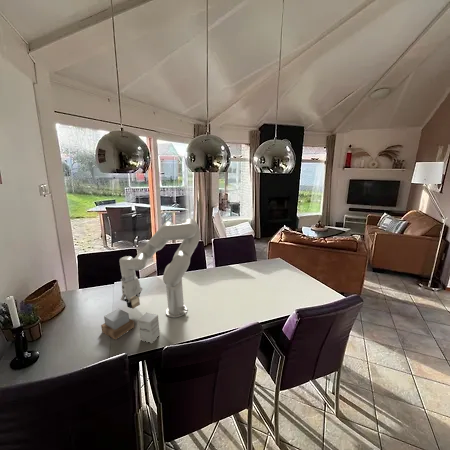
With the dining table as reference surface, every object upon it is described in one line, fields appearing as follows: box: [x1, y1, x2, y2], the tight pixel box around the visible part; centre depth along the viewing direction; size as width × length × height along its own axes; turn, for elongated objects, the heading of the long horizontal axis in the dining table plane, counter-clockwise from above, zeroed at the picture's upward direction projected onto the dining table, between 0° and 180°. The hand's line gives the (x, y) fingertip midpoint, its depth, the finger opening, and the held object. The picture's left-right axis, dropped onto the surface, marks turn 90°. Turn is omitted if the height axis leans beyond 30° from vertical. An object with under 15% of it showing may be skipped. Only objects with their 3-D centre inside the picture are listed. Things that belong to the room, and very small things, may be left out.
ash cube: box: [130, 296, 141, 310], centre depth 154 cm, size 5×5×5 cm
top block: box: [103, 308, 130, 330], centre depth 141 cm, size 9×9×5 cm
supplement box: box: [137, 312, 161, 344], centre depth 134 cm, size 7×7×13 cm
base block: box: [100, 318, 135, 340], centre depth 143 cm, size 12×12×5 cm
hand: (133, 304), depth 155 cm, fingers closed on ash cube, 5 cm apart
